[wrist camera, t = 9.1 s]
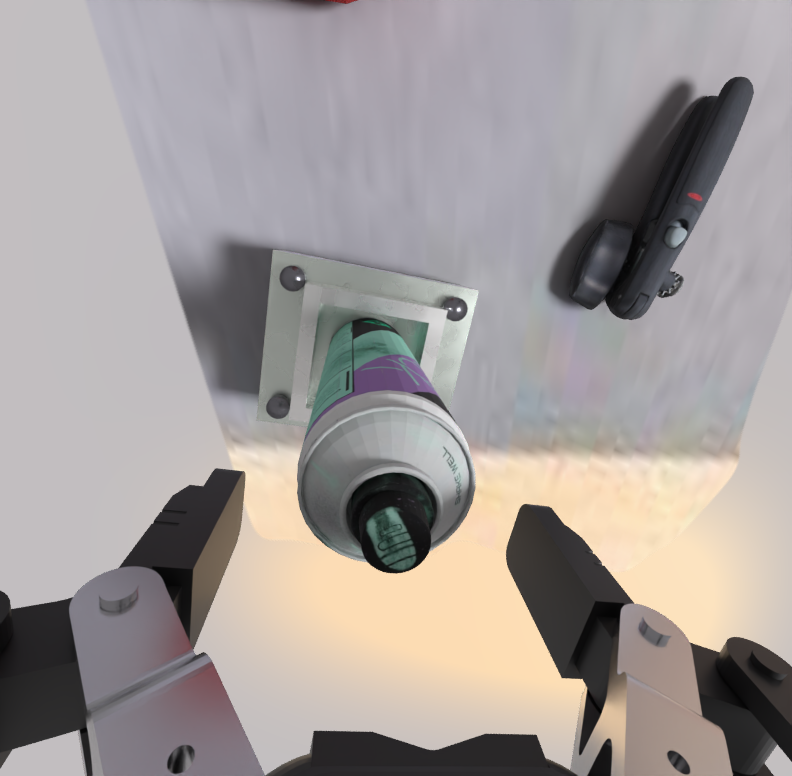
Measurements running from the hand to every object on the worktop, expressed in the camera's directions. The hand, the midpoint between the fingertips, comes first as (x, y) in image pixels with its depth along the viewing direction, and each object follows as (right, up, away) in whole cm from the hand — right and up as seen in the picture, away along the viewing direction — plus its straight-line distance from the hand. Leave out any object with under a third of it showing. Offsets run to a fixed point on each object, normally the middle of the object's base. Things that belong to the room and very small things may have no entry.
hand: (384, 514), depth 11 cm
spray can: (-2, +6, +17) cm, 18 cm away
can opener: (+20, +18, +21) cm, 35 cm away
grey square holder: (-2, +7, +22) cm, 23 cm away
